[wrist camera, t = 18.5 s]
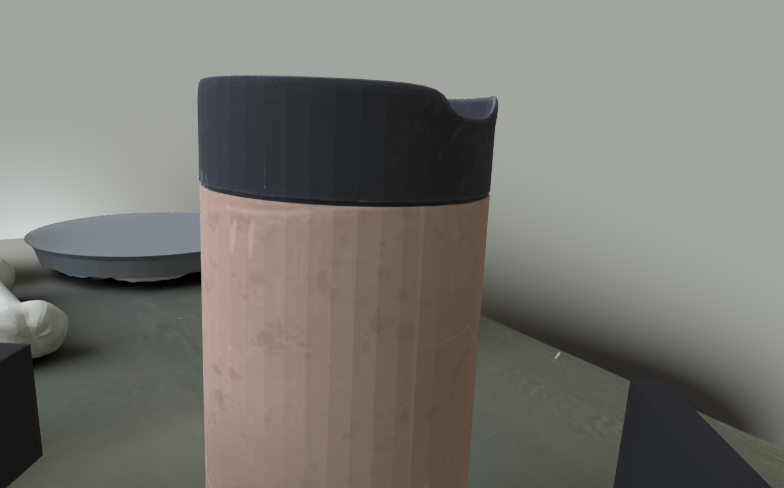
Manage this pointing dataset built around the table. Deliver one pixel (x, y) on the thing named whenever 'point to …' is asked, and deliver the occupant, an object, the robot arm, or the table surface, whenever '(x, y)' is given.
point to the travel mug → (340, 280)
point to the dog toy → (29, 318)
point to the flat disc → (122, 246)
